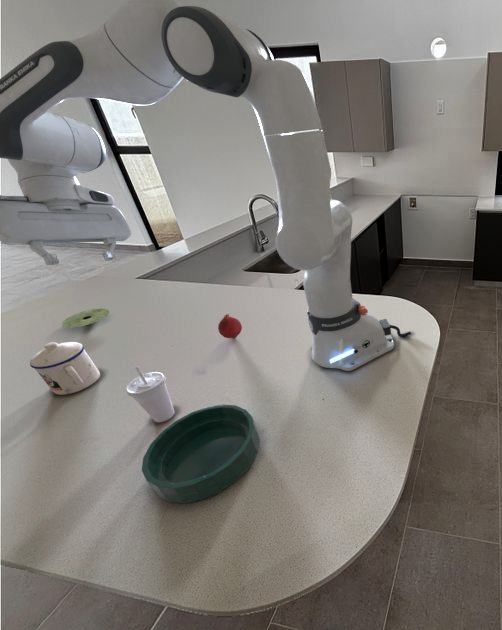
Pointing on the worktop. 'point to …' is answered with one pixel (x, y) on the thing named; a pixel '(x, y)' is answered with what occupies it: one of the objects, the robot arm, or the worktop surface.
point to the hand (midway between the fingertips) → (83, 261)
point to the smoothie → (152, 395)
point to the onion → (229, 327)
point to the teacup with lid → (65, 367)
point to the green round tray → (201, 453)
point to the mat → (85, 318)
